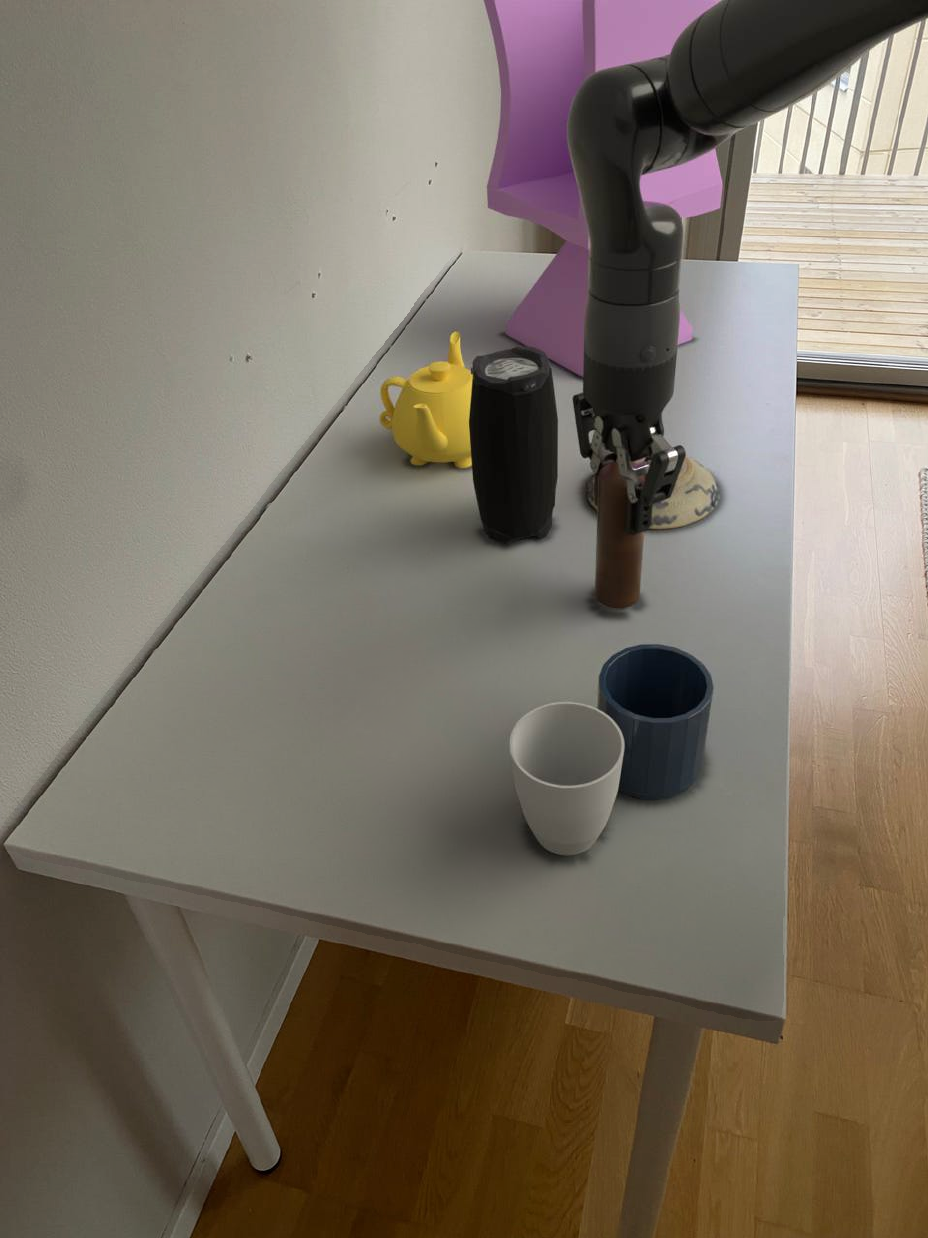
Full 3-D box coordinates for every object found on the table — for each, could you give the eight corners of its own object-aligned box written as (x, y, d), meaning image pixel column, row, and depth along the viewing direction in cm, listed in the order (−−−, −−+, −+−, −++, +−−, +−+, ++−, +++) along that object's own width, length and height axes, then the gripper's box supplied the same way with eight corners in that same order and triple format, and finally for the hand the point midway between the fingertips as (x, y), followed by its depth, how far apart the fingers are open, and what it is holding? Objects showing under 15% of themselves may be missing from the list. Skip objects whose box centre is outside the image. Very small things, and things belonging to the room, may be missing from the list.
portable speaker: (461, 534, 104) (447, 370, 91) (511, 495, 109) (504, 334, 97) (524, 559, 100) (518, 390, 87) (573, 517, 105) (574, 352, 92)
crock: (719, 749, 78) (733, 671, 72) (668, 817, 73) (677, 740, 67) (630, 706, 83) (636, 630, 77) (575, 767, 78) (577, 691, 72)
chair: (493, 333, 143) (477, -20, 114) (607, 295, 152) (619, -43, 122) (585, 385, 129) (594, -5, 99) (705, 340, 137) (746, -32, 108)
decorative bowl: (718, 461, 112) (592, 454, 115) (722, 434, 110) (593, 428, 112) (720, 535, 101) (580, 526, 104) (724, 507, 99) (581, 498, 101)
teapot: (403, 408, 127) (394, 327, 120) (511, 413, 124) (508, 330, 117) (360, 489, 112) (346, 402, 105) (481, 497, 109) (475, 408, 102)
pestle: (647, 591, 93) (657, 469, 84) (624, 614, 91) (631, 492, 82) (610, 575, 95) (615, 456, 86) (586, 598, 93) (589, 477, 84)
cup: (639, 823, 73) (647, 737, 67) (575, 892, 69) (576, 807, 62) (557, 772, 77) (557, 686, 71) (492, 833, 73) (486, 748, 67)
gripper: (724, 363, 72) (702, 543, 83) (619, 303, 82) (611, 471, 93) (644, 389, 70) (632, 571, 81) (545, 324, 80) (546, 494, 91)
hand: (621, 517), depth 87 cm, fingers closed on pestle, 4 cm apart
